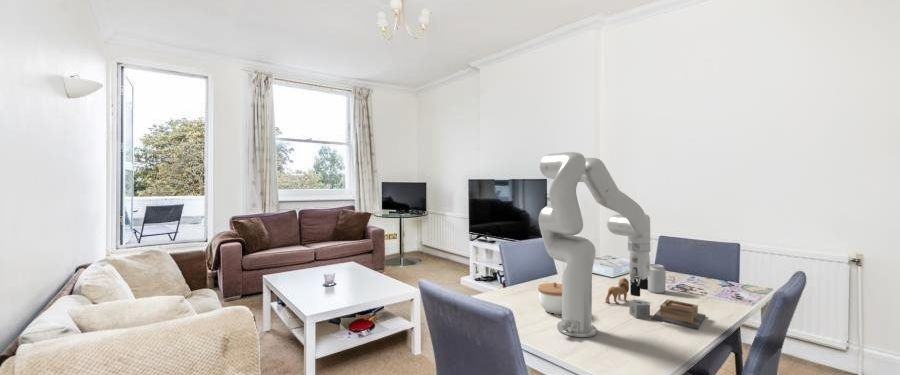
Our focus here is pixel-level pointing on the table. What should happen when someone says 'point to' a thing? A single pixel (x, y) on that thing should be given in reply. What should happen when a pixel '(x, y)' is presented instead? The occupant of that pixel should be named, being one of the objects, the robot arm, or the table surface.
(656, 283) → the can
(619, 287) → the lion figurine
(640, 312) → the grey cube
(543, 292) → the lidded bowl
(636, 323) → the table surface
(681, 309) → the base
